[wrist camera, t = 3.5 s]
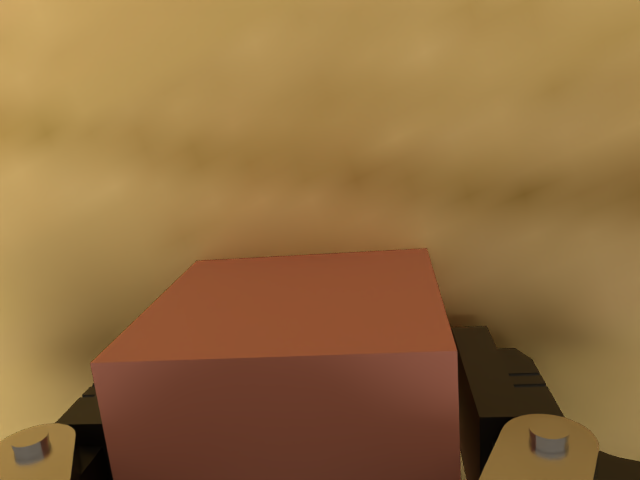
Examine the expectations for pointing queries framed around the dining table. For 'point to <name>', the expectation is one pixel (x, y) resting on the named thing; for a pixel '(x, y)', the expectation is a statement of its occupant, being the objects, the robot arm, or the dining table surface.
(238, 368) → the block
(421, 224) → the dining table surface
